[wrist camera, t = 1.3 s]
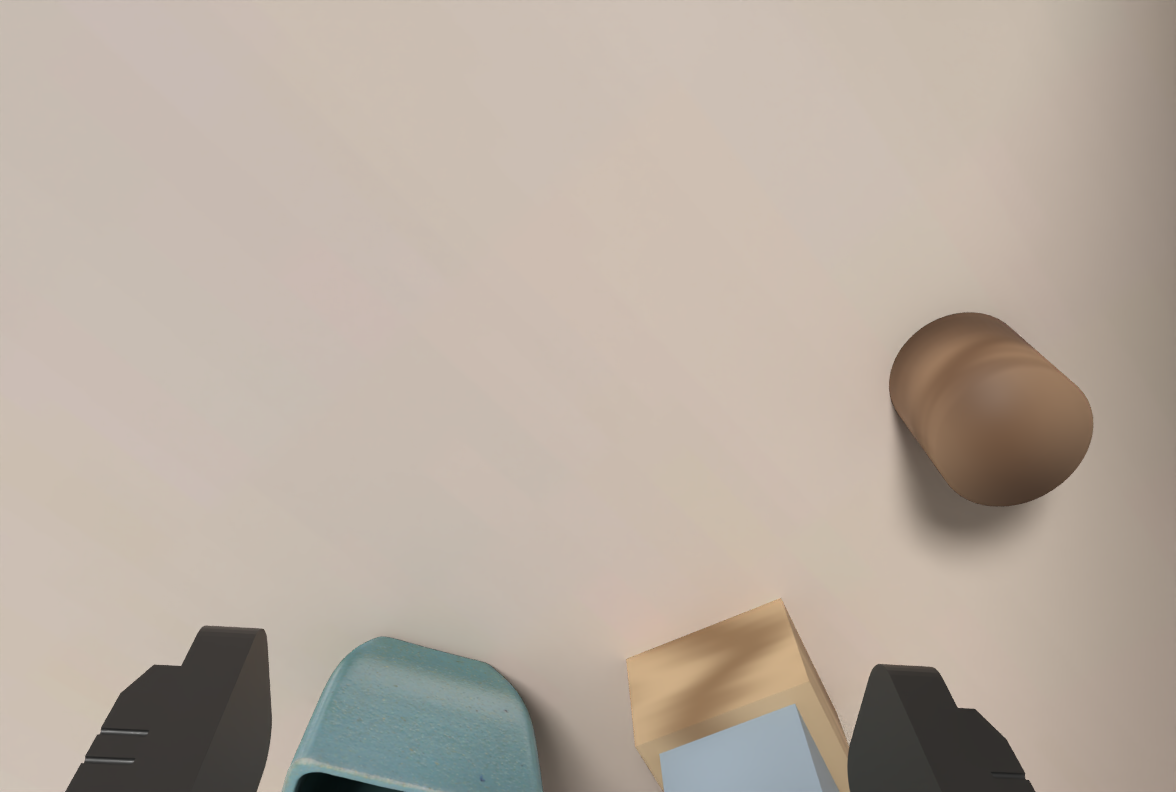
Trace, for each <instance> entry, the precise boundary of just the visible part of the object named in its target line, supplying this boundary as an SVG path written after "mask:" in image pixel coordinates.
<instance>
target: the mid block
mask: <svg viewBox="0 0 1176 792" xmlns="http://www.w3.org/2000/svg"><path fill="white" fill-rule="evenodd" d="M659 755H660V763H661V771H662V779H663V787H664V792H840V791H839V789H838V787H837V786H836V784H835V782H834V780H833V778H832V776H831V774H830V772H829V770H828V768H827V766H826V764H825V762H824V760H823V758H822V756H821V754H820V752H819V750H818V748H817V746H816V744H815V742H814V740H813V738H812V736H811V734H810V732H809V730H808V728H807V726H806V724H805V722H804V720H803V718H802V716H801V714H800V712H799V710H798V708H797V706H796V704H792V705H789V706H787V707H784V708H781V709H779V710H776V711H773V712H771V713H768V714H765V715H762V716H760V717H757V718H754V719H752V720H749V721H746V722H744V723H741V724H738V725H736V726H733V727H730V728H728V729H725V730H722V731H719V732H717V733H714V734H711V735H709V736H706V737H703V738H701V739H698V740H695V741H693V742H690V743H687V744H685V745H682V746H679V747H677V748H674V749H671V750H668V751H666V752H663V753H660V754H659Z"/></svg>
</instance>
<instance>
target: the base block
mask: <svg viewBox="0 0 1176 792" xmlns="http://www.w3.org/2000/svg"><path fill="white" fill-rule="evenodd" d="M626 661H627V671H628V681H629V690H630V700H631V710H632V720H633V730H634V739H635V747H636V749H637V750H638V752H639V753H640V755H641V757H642V758H643V760H644V761H645V763H646V765H647V766H648V768H649V770H650V771H651V773H652V774H653V776H654V778H655V779H656V781H657V782H658V784H659V786H660V787H661V789H662V790H663V792H664V787H663V779H662V771H661V763H660V755H659V754H660V753H663V752H666V751H668V750H671V749H674V748H677V747H679V746H682V745H685V744H687V743H690V742H693V741H695V740H698V739H701V738H703V737H706V736H709V735H711V734H714V733H717V732H719V731H722V730H725V729H728V728H730V727H733V726H736V725H738V724H741V723H744V722H746V721H749V720H752V719H754V718H757V717H760V716H762V715H765V714H768V713H771V712H773V711H776V710H779V709H781V708H784V707H787V706H789V705H792V704H796V706H797V708H798V710H799V712H800V714H801V716H802V718H803V720H804V722H805V724H806V726H807V728H808V730H809V732H810V734H811V736H812V738H813V740H814V742H815V744H816V746H817V748H818V750H819V752H820V754H821V756H822V758H823V760H824V762H825V764H826V766H827V768H828V770H829V772H830V774H831V776H832V778H833V780H834V782H835V784H836V786H837V787H838V789H839V791H840V792H850V789H849V783H848V772H847V761H848V751H849V746H848V743H847V740H846V738H845V735H844V732H843V729H842V726H841V724H840V721H839V718H838V715H837V713H836V711H835V708H834V706H833V704H832V702H831V700H830V698H829V696H828V694H827V692H826V690H825V688H824V686H823V684H822V682H821V680H820V678H819V675H818V673H817V671H816V669H815V667H814V665H813V663H812V661H811V659H810V657H809V655H808V653H807V651H806V649H805V647H804V645H803V642H802V640H801V638H800V636H799V634H798V632H797V630H796V628H795V626H794V624H793V622H792V620H791V618H790V616H789V614H788V611H787V609H786V607H785V605H784V603H783V601H782V599H781V598H780V599H778V600H775V601H773V602H770V603H767V604H765V605H762V606H760V607H757V608H755V609H752V610H750V611H747V612H745V613H742V614H739V615H737V616H734V617H732V618H729V619H727V620H724V621H722V622H719V623H717V624H714V625H712V626H709V627H706V628H704V629H701V630H699V631H696V632H694V633H691V634H689V635H686V636H684V637H681V638H679V639H676V640H673V641H671V642H668V643H666V644H663V645H661V646H658V647H656V648H653V649H651V650H648V651H645V652H643V653H640V654H638V655H635V656H633V657H630V658H628V659H626Z"/></svg>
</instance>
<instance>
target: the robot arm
mask: <svg viewBox="0 0 1176 792" xmlns="http://www.w3.org/2000/svg"><path fill="white" fill-rule="evenodd" d="M271 728H272V712H271V695H270V679H269V662H268V646H267V636H266V633H265V631H264V629H259V628H240V627H222V626H203V627H202V628H201V629H200V631H199V632H198V634H197V636H196V638H195V640H194V642H193V644H192V646H191V648H190V650H189V652H188V654H187V656H186V658H185V660H184V662H183V664H182V666H169V665H153V666H152V667H151V668H150V669H148V670H147V671H146V672H145V673H144V674H143V675H141V676H140V677H139V678H138V679H137V680H136V681H134V682H133V683H132V684H131V685H130V686H129V687H127V688H126V689H125V690H124V691H123V692H122V693H120V695H119V697H118V699H117V700H116V702H115V704H114V706H113V708H112V709H111V711H110V713H109V715H108V716H107V718H106V720H105V722H104V724H103V725H102V727H101V733H100V735H97V736H96V738H95V740H94V741H93V743H92V745H91V747H90V749H89V750H88V752H87V754H86V756H85V762H84V763H81V765H80V766H79V768H78V770H77V772H76V774H75V775H74V777H73V779H72V781H71V782H70V784H69V786H68V788H67V790H66V791H65V792H257V789H258V786H259V783H260V780H261V777H262V774H263V771H264V768H265V764H266V761H267V756H268V751H269V746H270V739H271ZM847 772H848V783H849V789H850V792H1035V790H1034V788H1033V787H1032V785H1031V783H1030V781H1029V780H1026V779H1025V772H1024V770H1023V768H1022V767H1021V765H1020V763H1019V761H1018V759H1017V758H1016V756H1015V754H1014V752H1013V750H1012V749H1011V747H1010V745H1009V743H1008V741H1007V740H1006V738H1005V737H1003V736H1002V735H1001V734H1000V733H999V732H998V731H997V730H996V729H995V728H994V727H993V726H992V725H991V724H990V723H989V722H988V721H987V720H986V719H985V718H984V717H983V716H982V715H981V714H980V713H979V712H978V711H976V710H975V709H967V708H958V707H957V706H956V704H955V702H954V700H953V698H952V696H951V694H950V692H949V690H948V688H947V686H946V684H945V682H944V680H943V678H942V676H941V675H940V673H939V672H938V671H937V670H936V669H935V668H933V667H924V666H905V665H887V664H878V665H876V666H875V667H874V668H873V669H872V671H871V674H870V676H869V680H868V683H867V687H866V690H865V694H864V697H863V701H862V704H861V708H860V711H859V715H858V718H857V722H856V725H855V729H854V732H853V736H852V739H851V742H850V746H849V751H848V761H847Z"/></svg>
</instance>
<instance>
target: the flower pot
mask: <svg viewBox="0 0 1176 792" xmlns="http://www.w3.org/2000/svg"><path fill="white" fill-rule="evenodd" d="M282 792H543V787H542V779H541V772H540V765H539V759H538V752H537V745H536V739H535V734H534V729H533V724H532V721H531V718H530V715H529V713H528V710H527V708H526V706H525V704H524V702H523V700H522V699H521V697H520V696H519V694H518V692H517V691H516V690H515V689H514V687H513V686H512V685H511V684H510V683H509V682H508V681H507V680H506V679H505V678H504V677H503V676H502V675H501V674H500V673H498V672H497V671H496V670H495V669H494V668H493V667H491V666H490V665H488V664H486V663H484V662H481V661H477V660H472V659H469V658H465V657H461V656H457V655H453V654H449V653H445V652H441V651H437V650H434V649H430V648H426V647H423V646H419V645H415V644H412V643H408V642H405V641H401V640H397V639H394V638H390V637H377V638H375V639H372V640H370V641H367V642H365V643H364V644H362V645H360V646H358V647H357V648H355V649H354V650H353V651H352V652H350V653H349V654H348V655H347V656H346V657H345V658H344V659H343V660H342V661H341V662H340V664H339V665H338V666H337V668H336V669H335V670H334V672H333V673H332V675H331V677H330V678H329V680H328V682H327V684H326V686H325V688H324V690H323V692H322V694H321V696H320V699H319V701H318V703H317V705H316V708H315V710H314V712H313V715H312V717H311V719H310V722H309V724H308V726H307V728H306V731H305V733H304V735H303V738H302V740H301V742H300V745H299V747H298V749H297V751H296V754H295V756H294V758H293V761H292V763H291V765H290V767H289V769H288V772H287V775H286V778H285V782H284V786H283V789H282Z"/></svg>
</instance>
